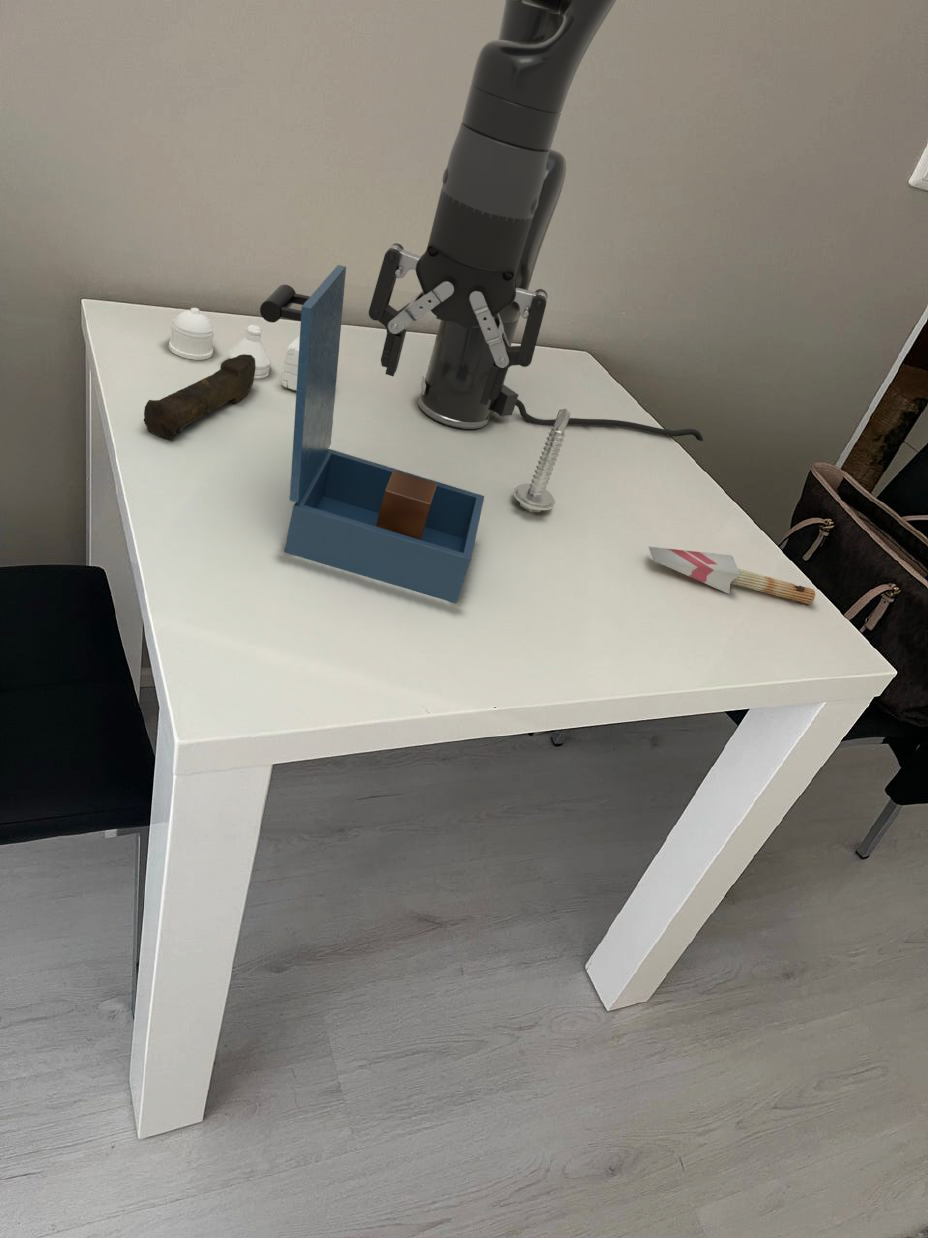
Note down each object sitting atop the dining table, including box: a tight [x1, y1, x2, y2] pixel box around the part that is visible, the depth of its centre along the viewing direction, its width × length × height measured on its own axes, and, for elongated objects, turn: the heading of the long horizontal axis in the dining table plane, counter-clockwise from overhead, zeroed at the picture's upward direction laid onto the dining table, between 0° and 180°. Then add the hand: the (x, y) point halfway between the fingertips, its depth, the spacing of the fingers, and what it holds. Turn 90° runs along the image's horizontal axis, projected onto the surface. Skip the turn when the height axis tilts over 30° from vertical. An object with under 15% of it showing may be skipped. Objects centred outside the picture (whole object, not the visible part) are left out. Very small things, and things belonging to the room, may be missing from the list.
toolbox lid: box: [259, 264, 347, 503], centre depth 86 cm, size 18×13×5 cm
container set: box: [168, 307, 300, 391], centre depth 117 cm, size 20×5×6 cm, turn 80°
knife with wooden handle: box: [648, 545, 816, 605], centre depth 108 cm, size 4×3×20 cm
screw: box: [512, 408, 571, 513], centre depth 106 cm, size 13×5×5 cm
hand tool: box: [143, 354, 256, 439], centre depth 106 cm, size 19×4×5 cm, turn 156°
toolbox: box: [284, 448, 485, 604], centre depth 93 cm, size 17×13×6 cm
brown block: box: [376, 470, 437, 540], centre depth 92 cm, size 4×4×7 cm
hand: (437, 386), depth 84 cm, fingers open, 8 cm apart
